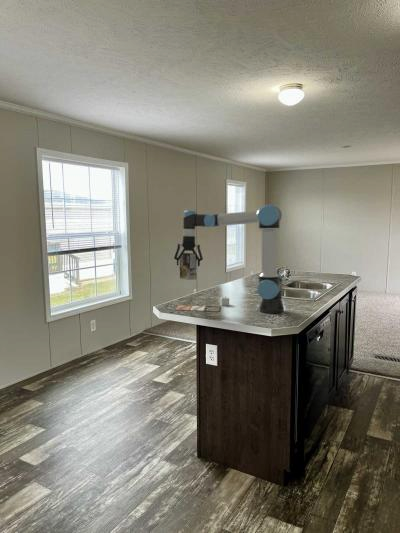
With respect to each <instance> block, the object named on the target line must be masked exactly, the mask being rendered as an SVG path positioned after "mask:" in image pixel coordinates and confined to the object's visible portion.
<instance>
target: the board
mask: <svg viewBox="0 0 400 533" xmlns="http://www.w3.org/2000/svg"><path fill="white" fill-rule="evenodd" d="M221 307H222V306H218V305H217V306H215V305H213V306H212V305H196V304H195V305H194V304H193V305H190V304H177V305H176V306H175V307H174V309H173V310H174V311H181V312H182V311H183V312H185V311H186V312H188V311H189V312H204V313H205V312H208V313H209V312H210V313H220V311H221ZM206 308H218V310H206Z"/></svg>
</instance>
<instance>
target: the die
mask: <svg viewBox="0 0 400 533" xmlns="http://www.w3.org/2000/svg"><path fill="white" fill-rule="evenodd" d="M219 305H220V307H229V306H230V297H228V296H220V297H219Z"/></svg>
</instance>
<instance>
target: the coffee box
mask: <svg viewBox="0 0 400 533" xmlns="http://www.w3.org/2000/svg"><path fill="white" fill-rule="evenodd" d="M180 254H181V252H180ZM180 254H179V255H180ZM179 260H180V271H179V279H182V280H187V281H193V280H197V272H196V261H198V260H197V259H196V254H194V253H193V252H184V253H183V254H182V256H181V257H180V259H179Z"/></svg>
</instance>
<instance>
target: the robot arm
mask: <svg viewBox="0 0 400 533" xmlns="http://www.w3.org/2000/svg"><path fill="white" fill-rule="evenodd" d="M182 219H183V220H182V221H183V224H182V226H183V227H182V228H183V229H182V235H183V236H182V243H177V248H176V251H175V254H174V258H173V259H174V260H176V266H178V267H177V268H178V270H177V271H178V272H180V257H181V256H182V254H183V253H186V252H187V251H190V252H191V253H194V254H196V259H197V261H196V273H197V272H198V271H199V267H200V266H201V261H203V259H204V258H203V254H202V251H201V245H200V244H196V227H205V228H211V227H212V228H214V227H221V226H222V227H223V226H237V225H249V224H258V229H259V230H260V231H261V272H260V274H258V285H257V287H256V288H257V289H256V290H257V291H256V292H257V293H258V295H259V296H260V298H261V302H260V304H259V307H258V308H259V309H258V311H259V312H261V313H264V314H273V313H277V314H282V313H281V312H283V313H285V307H284V303H283V300H282V295H283V294H282V293H283V276H282V275H281V274H278V273H277V255H278V254H277V250H278V249H277V247H278V246H277V245H278V244H277V242H278V241H277V239H278V237H277V236H278V233H277V232H278V230H279V229H280V221H281V220H282V211H281V209H280V208H279V207H277V206H276V205H274V204H265V205H263V206H261V207H260V208H258V209H257V210H251V211H240V212H227V213H226V212H225V213H216V214H214V213H213V214H210V213H209V214H208V213H206V214H205V213H203V214H201V213H200V214H198V213H197V211H195V210H184V211H183V218H182ZM181 248H183V249H182V250H181ZM195 248H197V252H198V253H197V252H196V249H195ZM180 250H181V252H180ZM179 252H180V253H181V254H179Z"/></svg>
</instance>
